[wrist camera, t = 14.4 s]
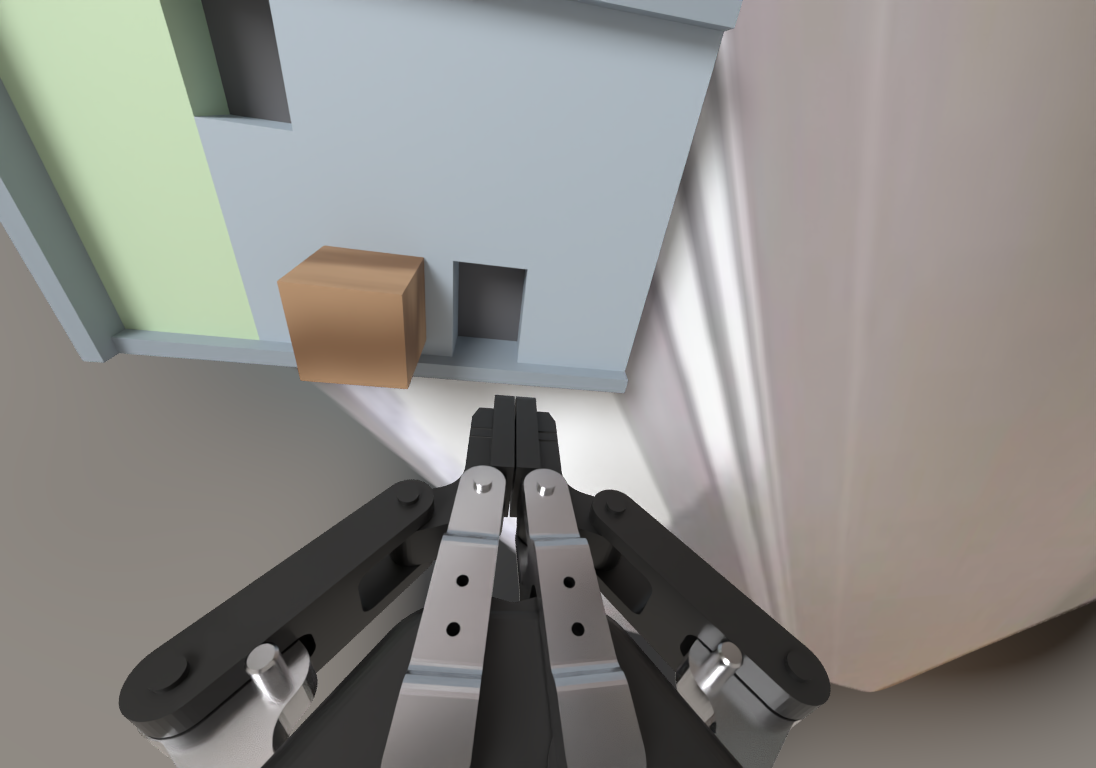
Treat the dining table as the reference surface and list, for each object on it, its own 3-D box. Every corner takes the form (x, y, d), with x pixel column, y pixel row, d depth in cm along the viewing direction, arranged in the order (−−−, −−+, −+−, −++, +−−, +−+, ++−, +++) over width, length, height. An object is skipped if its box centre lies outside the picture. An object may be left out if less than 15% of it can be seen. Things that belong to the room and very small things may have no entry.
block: (323, 245, 21) (276, 281, 17) (423, 257, 22) (401, 294, 18) (337, 331, 24) (300, 380, 20) (426, 340, 24) (407, 389, 20)
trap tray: (-58, -146, 15) (-271, -236, 11) (705, 11, 19) (756, -12, 15) (151, 319, 26) (82, 361, 22) (612, 360, 30) (627, 402, 26)
